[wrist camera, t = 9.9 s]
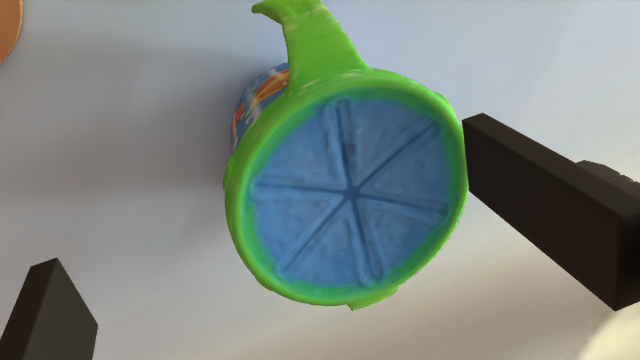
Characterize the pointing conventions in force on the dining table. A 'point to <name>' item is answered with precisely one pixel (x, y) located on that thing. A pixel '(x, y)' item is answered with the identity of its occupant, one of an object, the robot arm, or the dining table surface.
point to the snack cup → (339, 169)
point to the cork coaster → (9, 25)
